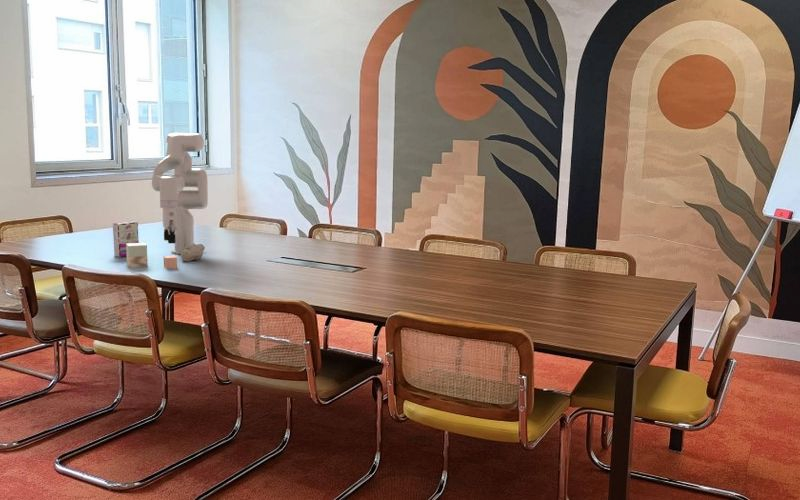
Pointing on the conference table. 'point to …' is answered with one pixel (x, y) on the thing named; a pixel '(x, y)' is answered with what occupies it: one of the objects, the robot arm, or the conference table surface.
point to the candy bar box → (124, 236)
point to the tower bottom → (137, 261)
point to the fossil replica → (192, 252)
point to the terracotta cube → (170, 261)
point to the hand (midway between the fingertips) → (169, 241)
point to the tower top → (136, 249)
